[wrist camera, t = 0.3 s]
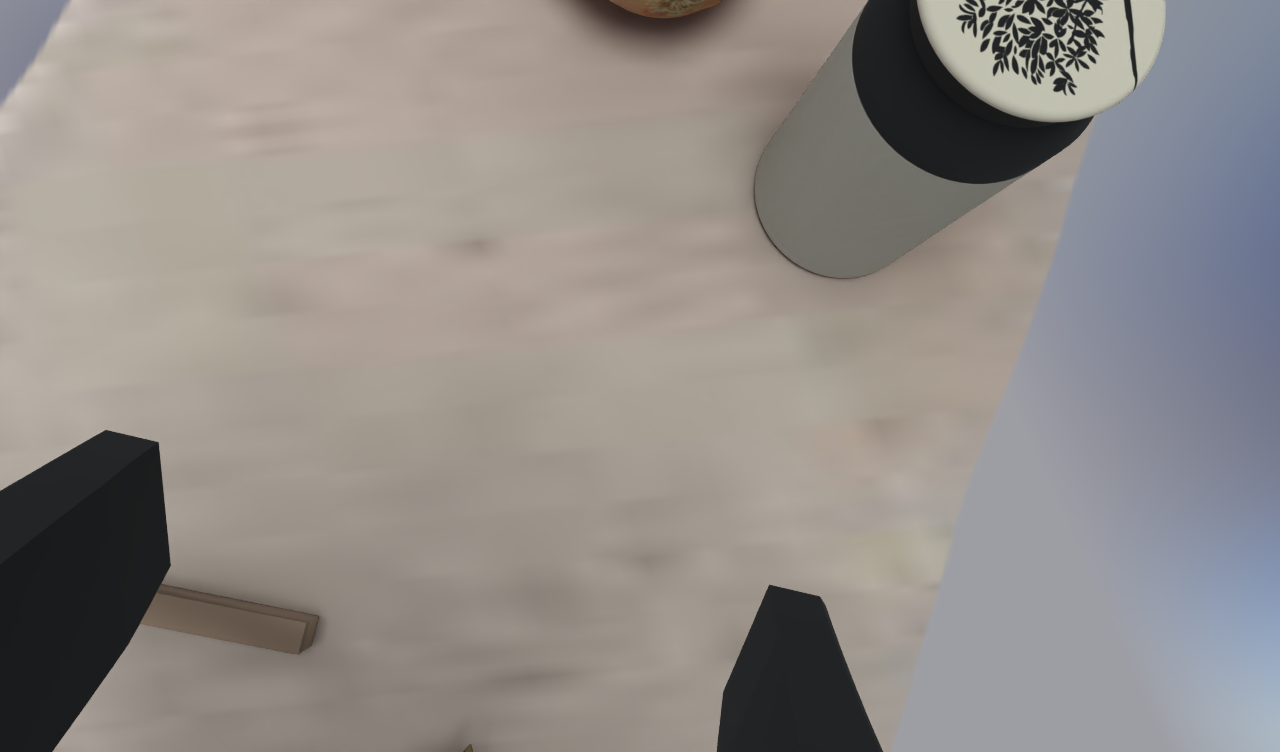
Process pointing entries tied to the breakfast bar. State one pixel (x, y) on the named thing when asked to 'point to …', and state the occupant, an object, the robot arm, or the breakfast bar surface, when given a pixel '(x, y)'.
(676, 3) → the onion
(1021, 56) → the travel mug
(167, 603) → the u-shaped wooden tray
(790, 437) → the breakfast bar surface
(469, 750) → the game die
